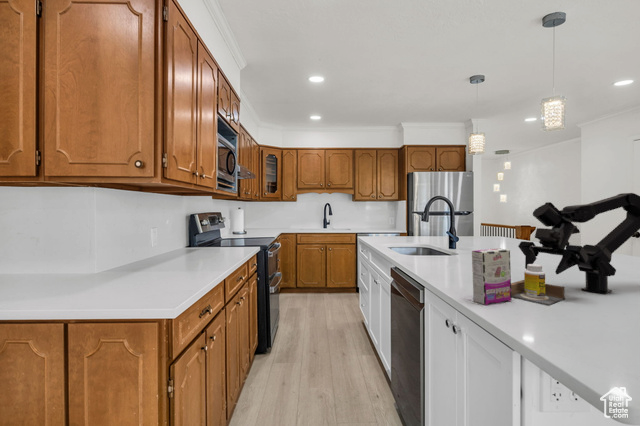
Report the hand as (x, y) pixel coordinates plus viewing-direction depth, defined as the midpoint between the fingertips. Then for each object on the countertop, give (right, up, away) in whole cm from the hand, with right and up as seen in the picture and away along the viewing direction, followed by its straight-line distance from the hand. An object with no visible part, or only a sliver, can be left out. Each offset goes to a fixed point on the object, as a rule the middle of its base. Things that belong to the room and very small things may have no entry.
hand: (540, 270), depth 100 cm
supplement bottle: (-3, -8, -1) cm, 9 cm away
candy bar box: (-18, -9, -3) cm, 20 cm away
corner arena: (-2, -9, -1) cm, 9 cm away
